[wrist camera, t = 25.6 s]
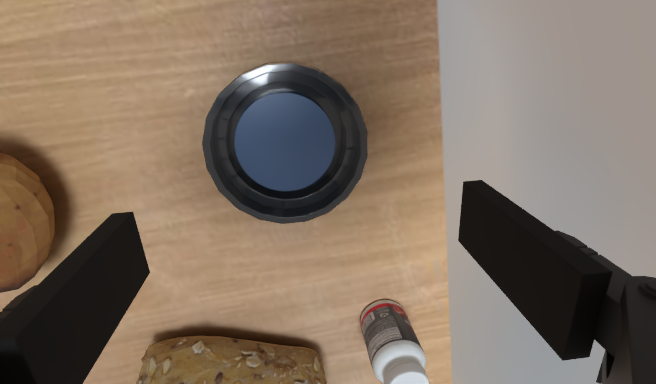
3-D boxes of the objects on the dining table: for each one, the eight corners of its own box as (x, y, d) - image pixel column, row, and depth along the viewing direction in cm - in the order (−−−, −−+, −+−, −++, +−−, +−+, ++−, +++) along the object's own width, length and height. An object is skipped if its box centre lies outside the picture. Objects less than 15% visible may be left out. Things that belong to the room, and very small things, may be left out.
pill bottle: (412, 322, 44) (445, 393, 35) (372, 342, 44) (395, 418, 35) (392, 290, 42) (422, 357, 33) (351, 312, 42) (369, 384, 33)
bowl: (355, 57, 32) (366, 58, 28) (358, 196, 37) (368, 215, 33) (201, 66, 31) (188, 69, 27) (225, 209, 36) (217, 230, 32)
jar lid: (221, 104, 32) (218, 107, 30) (319, 77, 32) (321, 79, 30) (254, 194, 35) (253, 202, 33) (342, 170, 35) (345, 176, 34)
